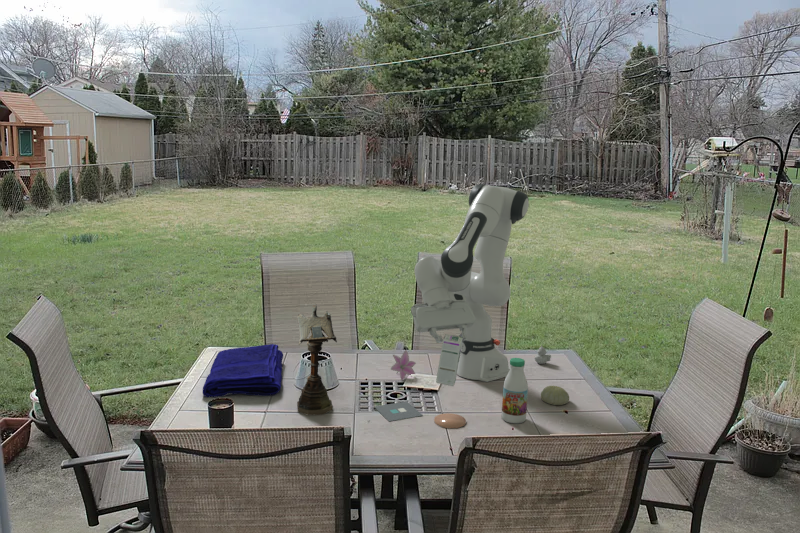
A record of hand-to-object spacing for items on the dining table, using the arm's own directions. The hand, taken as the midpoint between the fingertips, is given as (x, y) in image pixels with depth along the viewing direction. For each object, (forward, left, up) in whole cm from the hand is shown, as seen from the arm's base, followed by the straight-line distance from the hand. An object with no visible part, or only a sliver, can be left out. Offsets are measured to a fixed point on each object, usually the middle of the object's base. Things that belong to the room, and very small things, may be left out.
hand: (452, 340), depth 198 cm
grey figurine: (-62, -33, -27) cm, 75 cm away
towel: (+51, -59, -27) cm, 83 cm away
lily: (-3, -40, -27) cm, 48 cm away
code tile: (+12, -12, -26) cm, 31 cm away
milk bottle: (-20, +7, -27) cm, 34 cm away
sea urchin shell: (-42, 0, -27) cm, 50 cm away
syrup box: (+2, 0, -13) cm, 13 cm away
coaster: (0, +1, -26) cm, 26 cm away
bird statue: (+36, -22, -27) cm, 50 cm away
